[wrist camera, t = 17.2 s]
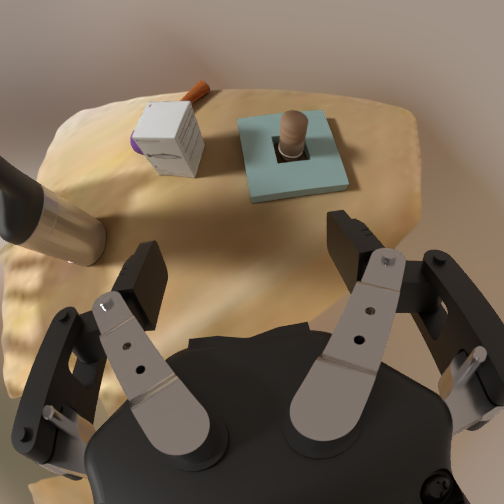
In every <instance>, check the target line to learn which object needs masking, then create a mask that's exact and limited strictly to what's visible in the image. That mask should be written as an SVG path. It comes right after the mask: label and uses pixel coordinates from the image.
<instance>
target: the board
mask: <svg viewBox="0 0 504 504" xmlns="http://www.w3.org/2000/svg"><path fill="white" fill-rule="evenodd" d="M300 112H302V113H303V114H305V115H306V116H307V118H308V127H307V132H306V137H305V142H304V147H303V148H304V151H305V155H306V158H307V160H303V161H295V162H286V163H279V164H278V163H277V159H276V154H275V150H274V146H273V144H279V139H280V123H281V116H282V115H283V114H284V113H278V114H270V115H261V116H254V117H247V118H240V119H237V122H238V128H239V134H240V140H241V146H242V151H243V157H244V163H245V169H246V175H247V180H248V186H249V192H250V198H251V203H257V202H264V201H270V200H277V199H284V198H291V197H298V196H305V195H312V194H320V193H328V192H336V191H345V190H346V188H347V187H348V185H349V182H348V179H347V176H346V172H345V169H344V166H343V163H342V160H341V157H340V155H339V152H338V149H337V146H336V143H335V141H334V138H333V135H332V132H331V130H330V127H329V125H328V122H327V120H326V117H325V115H324V112H323V110H315V111H300Z"/></svg>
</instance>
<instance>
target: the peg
mask: <svg viewBox="0 0 504 504" xmlns="http://www.w3.org/2000/svg"><path fill="white" fill-rule="evenodd" d="M307 127H308V118H307V116H306V115H305V114H303V113H302V112H299V111H294V110H292V111H287V112H285V113H284V114H283V115H282V116H281V123H280V139H279V152H280V154H281V158H282V160H283V161H284V162H295V161H298V159H299V157H300V156H301V155H302V152H303V147H304V142H305V137H306V132H307Z"/></svg>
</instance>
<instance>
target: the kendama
mask: <svg viewBox="0 0 504 504" xmlns="http://www.w3.org/2000/svg"><path fill="white" fill-rule="evenodd" d="M209 91H210V88H209V86H208V85H207V83H205V82H204V81H199V82H198V83H197V84H196V85H195V86H194V87H193V88H192V89H191V90H190V91H189V92H188V93H187V94H186V95H185V96H184V97H183V98H182V99H181V100H180V101H190V102H191V104H192V103H193V102H195V101H196V100H197V99H199V98H200V97H202V96H204V95H205V94H207V93H208V92H209ZM134 131H135V130H134ZM134 131H133V133H134ZM133 133H132V135H133ZM132 135H131V146H132V148H133V150H134V151H135V152H137V153H139V154H142V155H144V154H143V152H142V151H141V149H140V148H139V147H138V145H137V144H136V142H135V141H134V140H133V138H132Z"/></svg>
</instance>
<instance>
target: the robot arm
mask: <svg viewBox="0 0 504 504" xmlns="http://www.w3.org/2000/svg"><path fill="white" fill-rule="evenodd" d="M0 236H1V237H2V238H3V239H4V240H5V241H7V242H10V243H12V244H15V245H18V246H21V247H24V248H27V249H30V250H33V251H36V252H39V253H42V254H45V255H48V256H51V257H54V258H58V259H61V260H64V261H67V262H70V263H73V264H77V265H80V266H89V265H92V264H93V263H95V262H96V261H97V260H98V259H99V258H100V256H101V255H102V253H103V251H104V248H105V244H106V231H105V228H104V226H103V224H102V223H101V222H100V221H99V220H97V219H96V218H94V217H92V216H91V215H89V214H88V213H86V212H84V211H83V210H81V209H79V208H78V207H76V206H75V205H73V204H71V203H70V202H68V201H66V200H65V199H63V198H62V197H60V196H59V195H57V194H55V193H54V192H52V191H50V190H49V189H47V188H46V187H44V186H43V185H41V184H40V183H38V182H37V181H35V180H33V179H32V178H30V177H29V176H27V175H25V174H24V173H22V172H21V171H19V170H18V169H17V168H15V167H14V166H12V165H11V164H10V163H8V162H7V161H6V160H5V159H4V158H2V157H1V156H0ZM327 247H328V251H329V254H330V256H331V258H332V260H333V262H334V263H335V265H336V267H337V269H338V271H339V273H340V275H341V276H342V278H343V280H344V282H345V284H346V286H347V288H348V290H349V292H350V294H351V296H350V298H349V301H348V303H347V305H346V307H345V309H344V311H343V314H342V316H341V318H340V320H339V322H338V324H337V326H336V328H335V330H334V332H333V334H331V333H327V332H322V331H313V330H310V329H309V325H308V322H304V323H299V324H293V325H288V326H282V327H277V328H275V329H272V330H269V331H267V332H264V333H261V334H258V335H256V336H253V337H250V338H237V337H223V336H213V337H204V338H194V339H189V345H188V348H187V349H184V350H181V351H179V352H177V353H175V354H173V355H172V356H170V357H169V358H168V359H166V360H164V359H163V357H162V356H161V355H160V353H159V352H158V350H157V349H156V348H155V346H154V345H153V343H152V342H151V340H150V339H149V338H148V336H147V335H146V333H145V331H152V330H155V328H156V324H157V319H158V315H159V311H160V307H161V303H162V299H163V296H164V292H165V288H166V284H167V281H168V272H167V268H166V265H165V262H164V260H163V257H162V254H161V251H160V249H159V246H158V244H157V242H156V241H149V242H144V243H140V244H139V246H138V248H137V250H136V252H135V254H134V255H132V256H131V257H130V258H129V259H128V260H127V261H126V262H125V264H124V265H123V267H122V270H121V271H120V273H119V276H118V277H117V279H116V282H115V284H114V286H113V288H112V290H111V292H107V293H105V294H103V295H101V296H100V297H98V298H97V299H96V300H95V302H94V303H93V305H92V310H91V311H88V312H86V313H83V314H80V315H79V313H78V312H77V310H76V309H75V308H74V307H67V308H64V309H62V310H61V311H59V312H58V313H57V314H56V315H55V317H54V318H53V320H52V322H51V324H50V327H49V329H48V331H47V333H46V335H45V337H44V340H43V342H42V344H41V346H40V349H39V351H38V354H37V356H36V358H35V361H34V363H33V366H32V369H31V371H30V374H29V377H28V379H27V382H26V385H25V388H24V391H23V394H22V397H21V400H20V404H19V407H18V411H17V414H16V418H15V422H14V425H13V430H12V435H11V438H12V444H13V447H14V448H15V450H16V451H18V452H19V453H20V454H22V455H24V456H26V457H27V458H29V459H31V460H32V461H34V462H35V463H36V464H38V465H40V466H42V467H44V468H46V469H48V470H50V471H52V472H54V473H56V474H59V475H62V476H65V477H67V478H69V479H72V480H81V479H82V478H87V479H88V480H89V483H90V486H91V490H92V494H93V500H94V504H470V502H469V501H468V499H467V498H466V496H465V495H464V493H463V492H462V491H461V489H460V488H459V486H458V484H457V483H456V481H455V479H454V477H453V475H452V471H451V461H450V450H451V440H452V436H454V435H456V434H458V433H460V432H462V431H463V430H466V429H467V430H470V431H475V430H478V429H479V428H481V427H482V426H484V425H485V424H486V423H487V422H488V421H490V420H491V419H492V418H493V417H495V416H496V415H497V414H498V413H499V412H500V411H502V410H503V409H504V324H503V322H502V321H501V319H500V318H499V316H498V315H497V314H496V312H495V311H494V309H493V308H492V307H491V305H490V304H489V302H488V301H487V300H486V298H485V297H484V296H483V294H482V293H481V292H480V291H479V289H478V288H477V287H476V285H475V284H474V283H473V282H472V281H471V279H470V278H469V277H468V276H467V274H466V273H464V271H463V270H462V269H461V267H460V266H459V265H458V264H457V263H456V262H455V260H454V259H453V258H452V257H451V256H450V255H448V254H447V253H445V252H443V251H440V250H429V251H427V252H426V253H425V254H424V257H423V261H407V260H406V259H405V257H404V256H403V254H402V253H400V252H399V251H397V250H395V249H391V248H385V247H384V246H383V245H382V243H381V242H380V241H379V240H378V239H377V238H376V236H375V235H373V233H372V232H371V231H370V230H369V228H368V227H367V226H366V225H365V224H364V223H363V222H361V221H359V220H357V219H351V218H350V217H349V216H348V214H347V213H346V212H345V211H344V210H338V211H331V212H328V213H327ZM442 301H443V302H444V304H445V305H446V307H447V310H448V314H447V312H446V311H445V309H444V308H443V307H442V305H441V302H442ZM395 313H411V315H412V317H413V319H414V321H415V323H416V324H417V326H418V328H419V330H420V332H421V334H422V336H423V338H424V340H425V342H426V344H427V346H428V348H429V350H430V352H431V354H432V356H433V358H434V360H435V362H436V365H437V367H438V369H439V371H440V373H441V378H440V380H439V383H438V389H439V393H440V395H438V394H437V393H435V392H434V391H432V390H430V389H428V388H427V387H425V386H423V385H421V384H420V383H418V382H416V381H414V380H412V379H411V378H409V377H407V376H406V375H404V374H402V373H400V372H399V371H397V370H395V369H393V368H392V367H390V366H388V365H387V364H385V363H383V362H381V360H382V357H383V354H384V350H385V348H386V344H387V341H388V338H389V334H390V331H391V327H392V323H393V320H394V316H395ZM72 352H73V353H74V354H75V355H76V357H77V361H76V364H75V367H74V370H73V374H72V373H71V372H70V370H69V366H68V362H69V358H70V355H71V353H72ZM107 357H108V360H109V362H110V364H111V366H112V368H113V370H114V372H115V375H116V377H117V379H118V381H119V383H120V385H121V387H122V389H123V391H124V392H125V394H126V396H127V398H128V399H127V400H126V401H125V402H124V403H123V404H122V405H121V407H120V408H119V409H118V410H117V411H116V412H115V413H114V414H113V415H112V416H111V417H110V418H109V419H108V420H107V421H106V422H105V423H104V424H103V425H102V426H101V427H100V428H99V429H98V430H97V431H95V429H94V427H93V422H94V416H95V411H96V405H97V400H98V395H99V390H100V386H101V381H102V377H103V372H104V368H105V364H106V360H107Z"/></svg>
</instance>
